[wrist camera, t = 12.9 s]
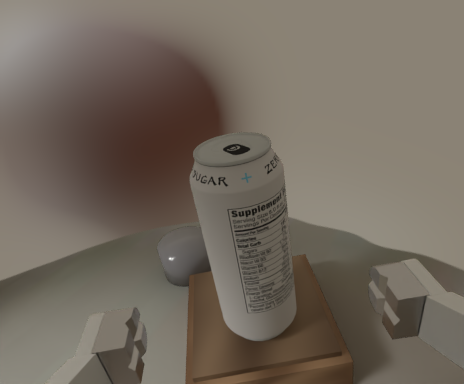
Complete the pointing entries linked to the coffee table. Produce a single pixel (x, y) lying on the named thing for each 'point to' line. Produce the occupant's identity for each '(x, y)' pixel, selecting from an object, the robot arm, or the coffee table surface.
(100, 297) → the coffee table surface
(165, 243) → the grey rounded cylinder
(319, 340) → the wooden tray
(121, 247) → the coffee table surface
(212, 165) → the energy drink can
